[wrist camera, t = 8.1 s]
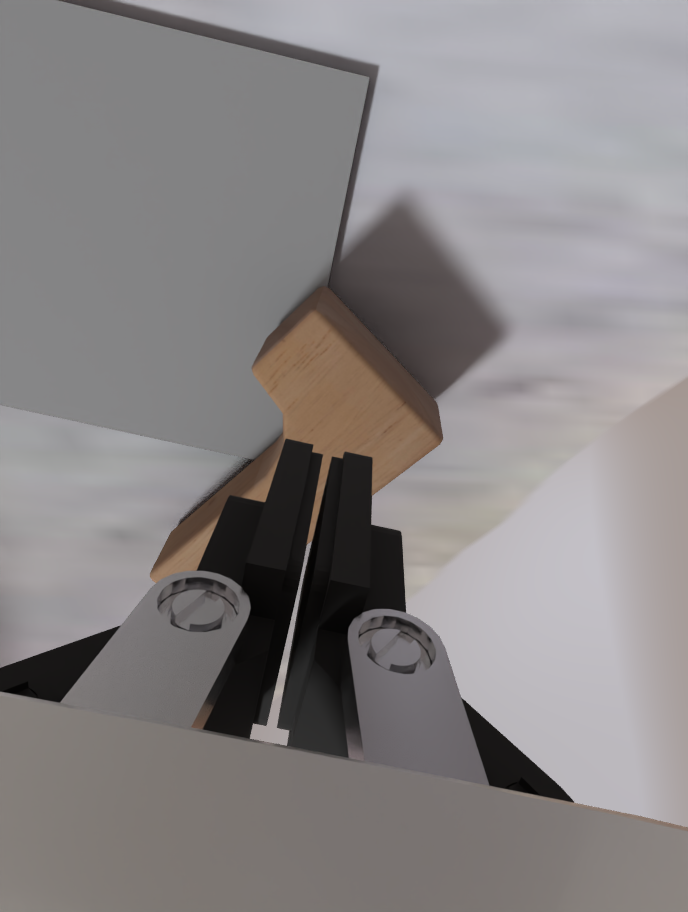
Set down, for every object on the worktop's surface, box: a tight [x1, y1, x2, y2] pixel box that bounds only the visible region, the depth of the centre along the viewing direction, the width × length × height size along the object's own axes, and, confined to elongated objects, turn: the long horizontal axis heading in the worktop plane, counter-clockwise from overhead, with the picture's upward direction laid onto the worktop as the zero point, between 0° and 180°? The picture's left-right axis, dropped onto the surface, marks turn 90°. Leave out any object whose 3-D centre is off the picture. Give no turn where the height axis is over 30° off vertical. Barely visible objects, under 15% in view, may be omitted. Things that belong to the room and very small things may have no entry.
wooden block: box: [150, 286, 443, 583], centre depth 34 cm, size 9×4×18 cm
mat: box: [0, 0, 370, 460], centre depth 32 cm, size 20×20×1 cm
